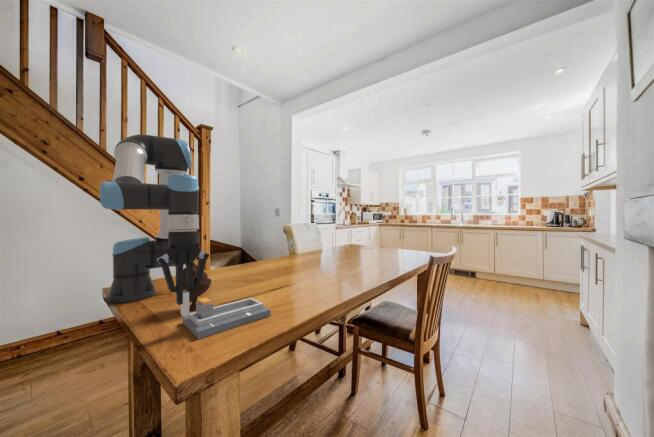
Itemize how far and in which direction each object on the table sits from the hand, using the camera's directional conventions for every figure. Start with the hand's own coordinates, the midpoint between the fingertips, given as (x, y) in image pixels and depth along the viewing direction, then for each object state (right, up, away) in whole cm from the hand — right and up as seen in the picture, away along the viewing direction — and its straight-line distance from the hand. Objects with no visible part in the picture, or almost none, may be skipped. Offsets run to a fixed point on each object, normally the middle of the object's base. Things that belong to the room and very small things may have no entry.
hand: (185, 314), depth 71 cm
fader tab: (+4, -3, +4) cm, 6 cm away
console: (+9, -5, +9) cm, 13 cm away
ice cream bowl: (-7, -5, +18) cm, 20 cm away
